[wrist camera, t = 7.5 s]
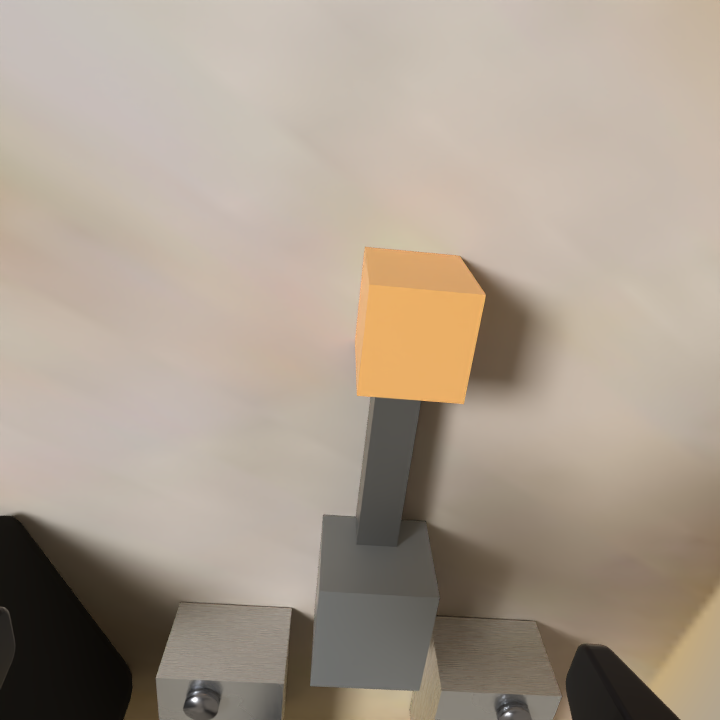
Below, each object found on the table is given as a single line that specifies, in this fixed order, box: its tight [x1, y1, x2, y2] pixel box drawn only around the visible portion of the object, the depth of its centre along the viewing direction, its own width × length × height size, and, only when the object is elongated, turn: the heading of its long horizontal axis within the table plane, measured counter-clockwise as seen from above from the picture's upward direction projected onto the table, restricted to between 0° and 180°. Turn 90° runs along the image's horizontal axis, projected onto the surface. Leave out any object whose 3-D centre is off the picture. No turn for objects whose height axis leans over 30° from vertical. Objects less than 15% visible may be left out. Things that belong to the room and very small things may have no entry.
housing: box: [156, 602, 562, 720], centre depth 23 cm, size 6×14×4 cm, turn 84°
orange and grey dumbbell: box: [310, 247, 486, 691], centre depth 18 cm, size 16×4×4 cm, turn 174°
